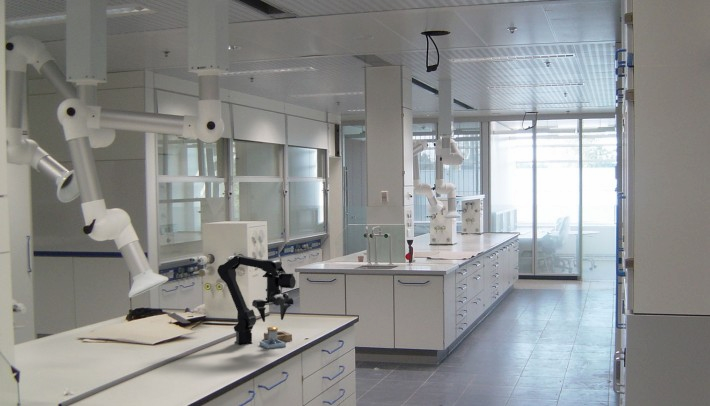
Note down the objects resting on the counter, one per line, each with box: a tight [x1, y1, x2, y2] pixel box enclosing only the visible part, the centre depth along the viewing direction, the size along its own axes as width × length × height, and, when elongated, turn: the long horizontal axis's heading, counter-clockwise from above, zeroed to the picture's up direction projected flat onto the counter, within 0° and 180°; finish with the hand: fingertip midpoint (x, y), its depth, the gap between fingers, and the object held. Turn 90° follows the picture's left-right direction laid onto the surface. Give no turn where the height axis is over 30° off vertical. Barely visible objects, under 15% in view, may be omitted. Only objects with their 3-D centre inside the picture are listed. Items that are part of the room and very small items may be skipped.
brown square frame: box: [263, 330, 293, 343], centre depth 352 cm, size 10×10×3 cm
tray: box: [259, 340, 287, 350], centre depth 339 cm, size 9×9×2 cm
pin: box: [266, 326, 279, 345], centre depth 339 cm, size 5×5×8 cm
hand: (273, 320), depth 339 cm, fingers open, 9 cm apart
